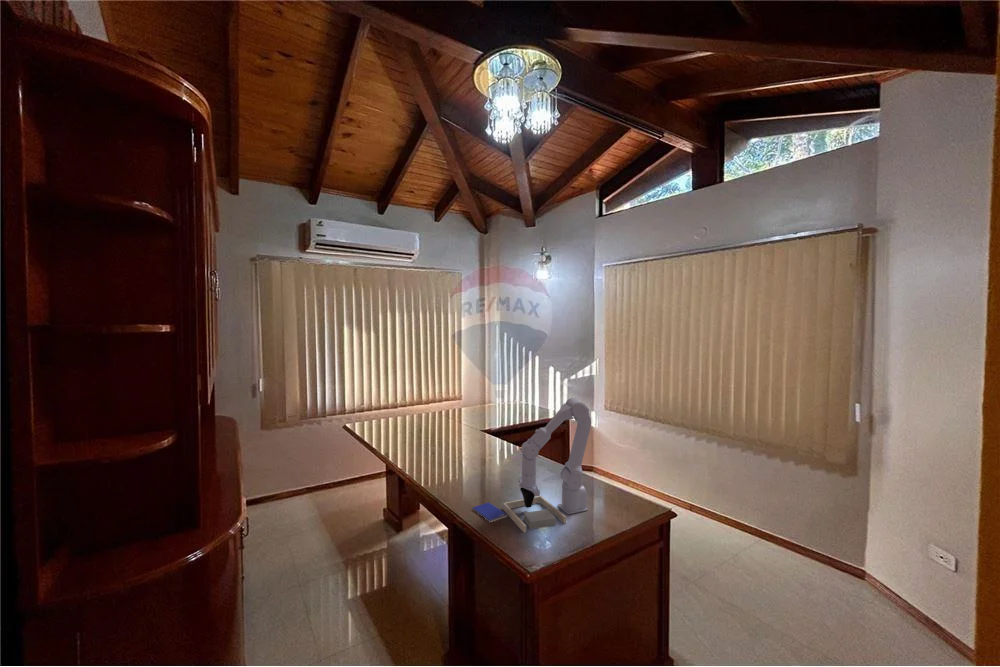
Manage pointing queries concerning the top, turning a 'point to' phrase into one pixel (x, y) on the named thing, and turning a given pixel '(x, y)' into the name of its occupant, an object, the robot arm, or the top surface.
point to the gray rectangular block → (539, 519)
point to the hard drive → (490, 512)
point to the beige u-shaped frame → (538, 499)
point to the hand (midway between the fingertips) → (528, 506)
